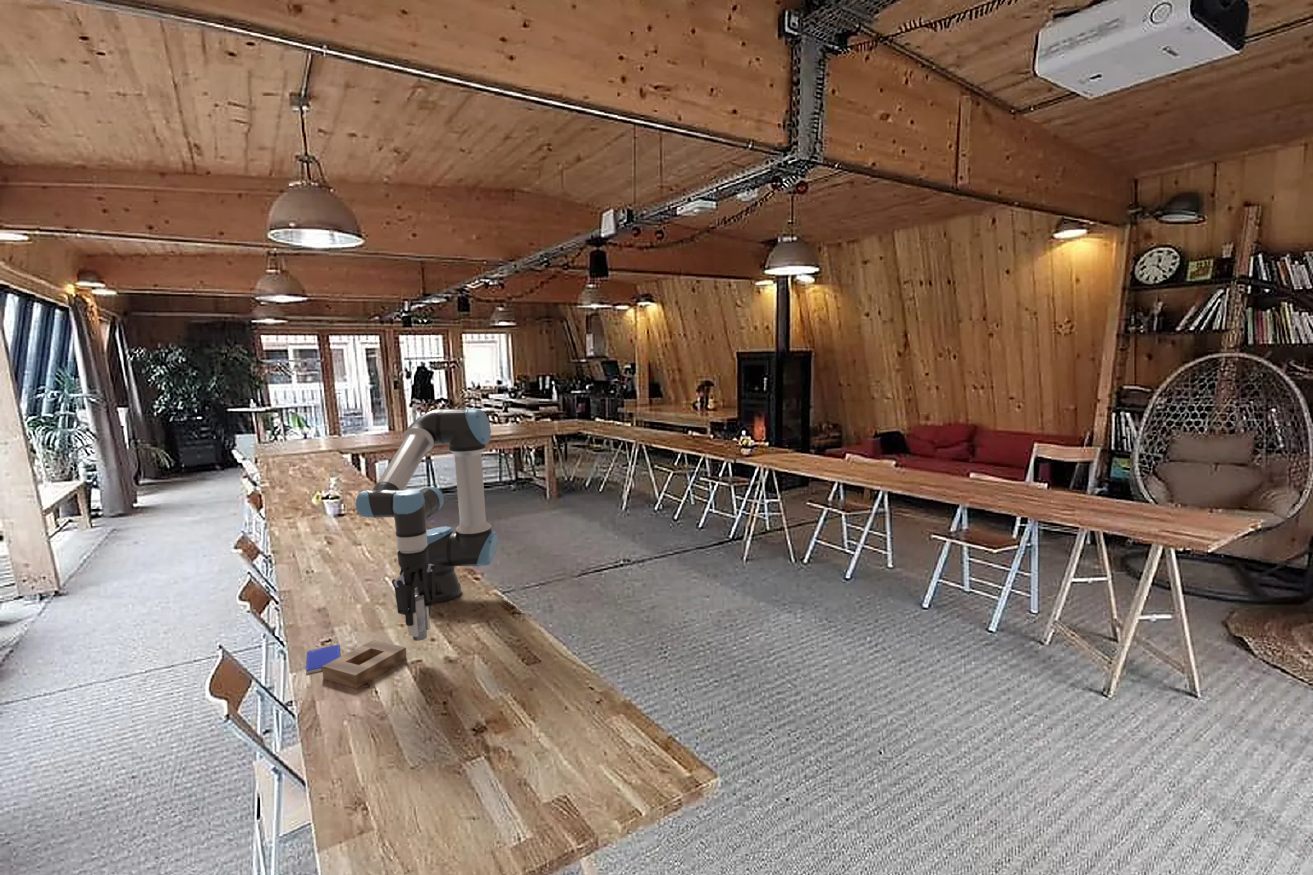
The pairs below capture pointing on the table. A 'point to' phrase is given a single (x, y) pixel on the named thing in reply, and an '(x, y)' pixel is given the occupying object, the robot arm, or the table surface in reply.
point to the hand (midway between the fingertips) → (419, 631)
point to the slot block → (364, 663)
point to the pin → (420, 616)
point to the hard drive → (321, 658)
